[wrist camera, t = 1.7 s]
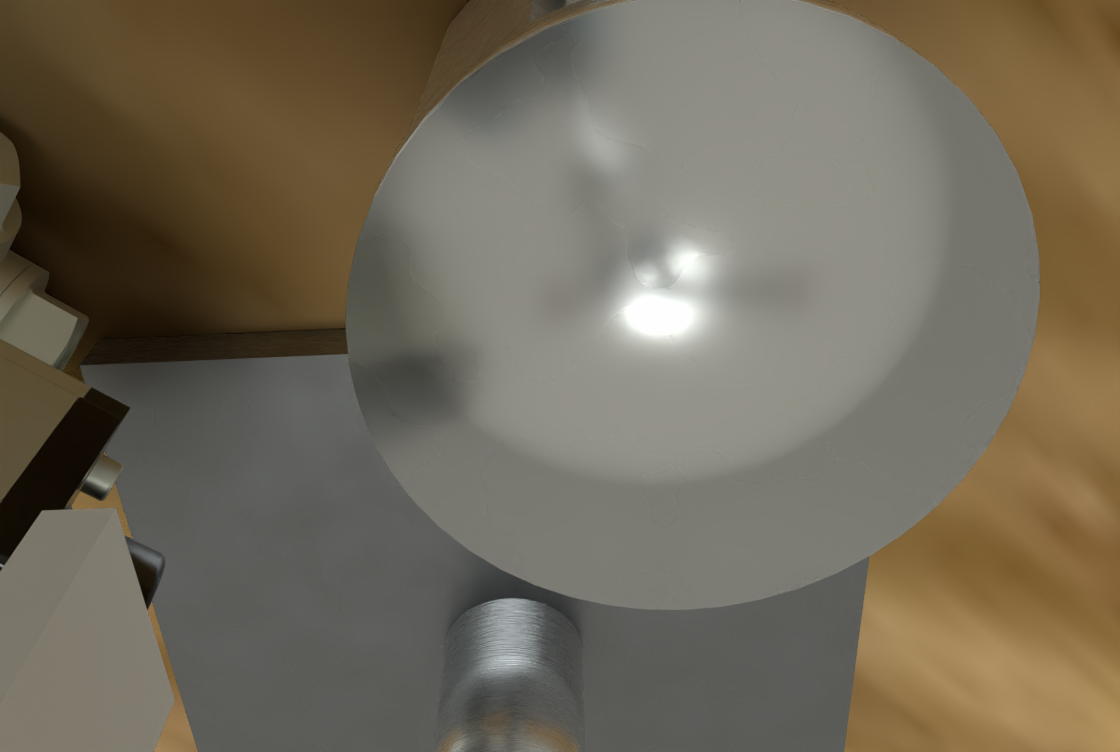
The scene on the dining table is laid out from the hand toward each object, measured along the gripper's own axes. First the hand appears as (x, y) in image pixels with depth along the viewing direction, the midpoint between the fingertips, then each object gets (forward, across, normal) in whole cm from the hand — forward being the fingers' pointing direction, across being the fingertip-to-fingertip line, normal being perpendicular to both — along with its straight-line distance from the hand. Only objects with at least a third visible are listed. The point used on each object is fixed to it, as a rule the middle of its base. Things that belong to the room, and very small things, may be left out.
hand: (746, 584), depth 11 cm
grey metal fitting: (+18, 0, 0) cm, 18 cm away
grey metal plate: (+18, -4, -17) cm, 25 cm away
